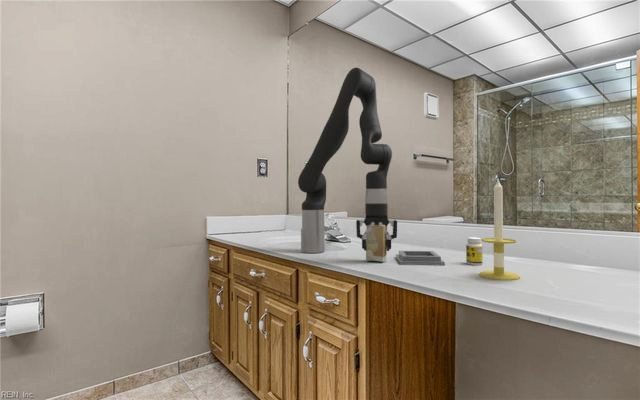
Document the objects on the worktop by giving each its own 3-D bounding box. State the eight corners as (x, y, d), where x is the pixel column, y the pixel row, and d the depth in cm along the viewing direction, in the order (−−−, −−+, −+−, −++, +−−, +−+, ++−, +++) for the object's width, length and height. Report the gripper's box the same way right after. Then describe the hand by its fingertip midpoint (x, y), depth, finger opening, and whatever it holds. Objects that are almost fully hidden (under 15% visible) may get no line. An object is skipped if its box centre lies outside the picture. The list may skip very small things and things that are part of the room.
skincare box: (365, 260, 114) (365, 224, 114) (369, 258, 118) (369, 223, 118) (383, 261, 111) (383, 225, 111) (387, 259, 115) (387, 224, 115)
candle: (502, 281, 85) (501, 176, 85) (470, 274, 95) (469, 178, 95) (528, 277, 89) (527, 176, 89) (495, 270, 99) (494, 178, 98)
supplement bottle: (463, 263, 110) (462, 237, 110) (473, 261, 112) (473, 236, 112) (475, 265, 106) (474, 239, 106) (485, 264, 108) (485, 238, 108)
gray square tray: (400, 264, 109) (400, 256, 109) (395, 257, 123) (395, 250, 123) (444, 265, 107) (444, 257, 107) (435, 257, 121) (435, 250, 121)
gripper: (355, 202, 112) (355, 251, 112) (398, 202, 110) (399, 252, 110) (355, 202, 119) (355, 248, 119) (396, 202, 117) (396, 249, 118)
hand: (376, 250), depth 115 cm, fingers closed on skincare box, 7 cm apart
